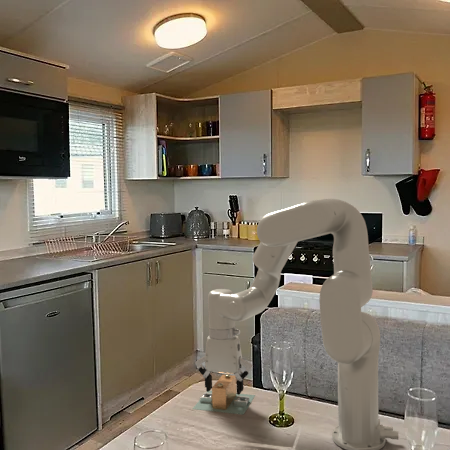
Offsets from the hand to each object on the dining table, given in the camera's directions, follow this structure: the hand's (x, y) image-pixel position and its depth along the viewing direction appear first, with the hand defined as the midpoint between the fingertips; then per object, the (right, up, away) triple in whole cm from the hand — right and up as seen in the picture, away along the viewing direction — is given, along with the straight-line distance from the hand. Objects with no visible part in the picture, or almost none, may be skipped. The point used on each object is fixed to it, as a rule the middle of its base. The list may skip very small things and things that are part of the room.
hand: (224, 391), depth 144 cm
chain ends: (0, -3, 0) cm, 3 cm away
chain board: (0, -4, 0) cm, 4 cm away
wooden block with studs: (0, -3, 0) cm, 3 cm away
